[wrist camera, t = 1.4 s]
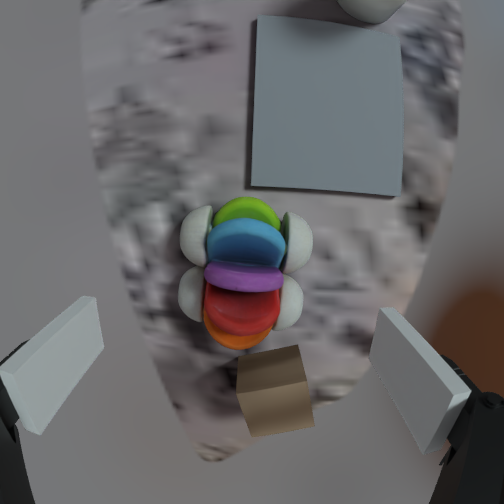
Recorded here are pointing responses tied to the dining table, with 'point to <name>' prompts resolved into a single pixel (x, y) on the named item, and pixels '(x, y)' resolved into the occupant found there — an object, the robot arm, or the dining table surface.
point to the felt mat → (327, 107)
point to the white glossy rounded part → (371, 9)
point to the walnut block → (274, 391)
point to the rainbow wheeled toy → (243, 270)
